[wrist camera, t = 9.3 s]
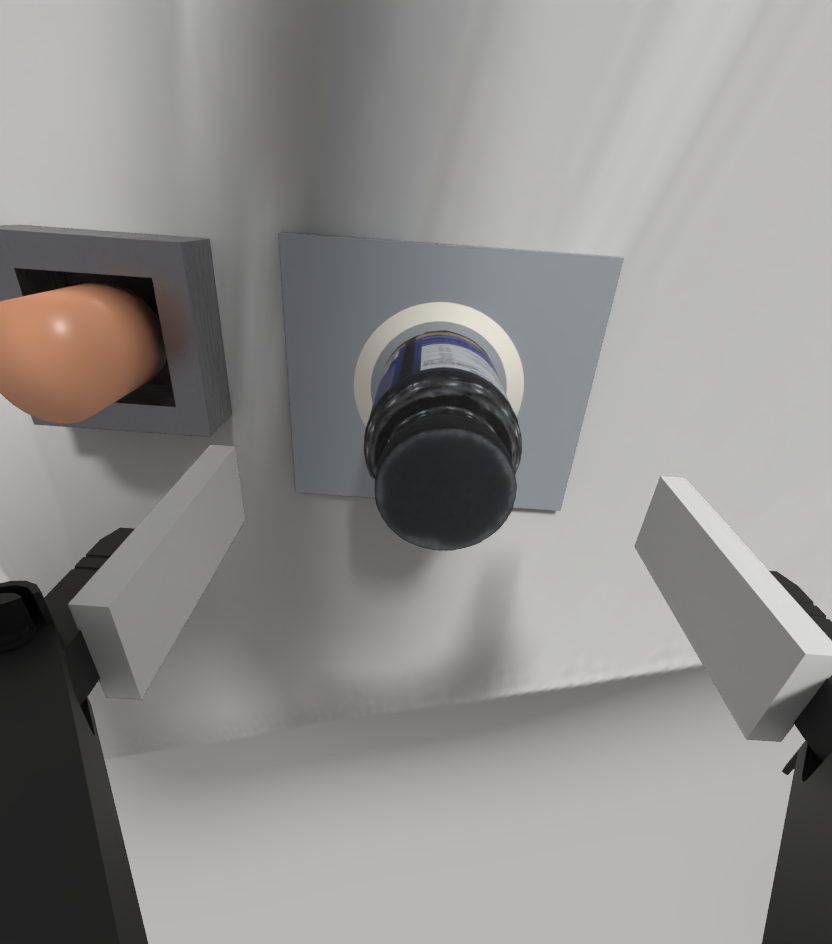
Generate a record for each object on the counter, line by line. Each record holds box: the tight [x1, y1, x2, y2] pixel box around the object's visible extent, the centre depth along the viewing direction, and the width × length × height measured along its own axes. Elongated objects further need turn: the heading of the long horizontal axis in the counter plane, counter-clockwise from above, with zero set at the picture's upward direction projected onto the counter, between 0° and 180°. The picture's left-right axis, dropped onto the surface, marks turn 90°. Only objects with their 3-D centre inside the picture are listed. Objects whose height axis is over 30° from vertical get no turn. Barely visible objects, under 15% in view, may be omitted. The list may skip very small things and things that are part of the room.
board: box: [278, 232, 624, 511], centre depth 26 cm, size 14×16×1 cm
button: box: [0, 282, 167, 424], centre depth 21 cm, size 5×5×5 cm
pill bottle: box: [364, 330, 522, 551], centre depth 20 cm, size 6×6×11 cm
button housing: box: [0, 225, 232, 437], centre depth 24 cm, size 9×9×3 cm
